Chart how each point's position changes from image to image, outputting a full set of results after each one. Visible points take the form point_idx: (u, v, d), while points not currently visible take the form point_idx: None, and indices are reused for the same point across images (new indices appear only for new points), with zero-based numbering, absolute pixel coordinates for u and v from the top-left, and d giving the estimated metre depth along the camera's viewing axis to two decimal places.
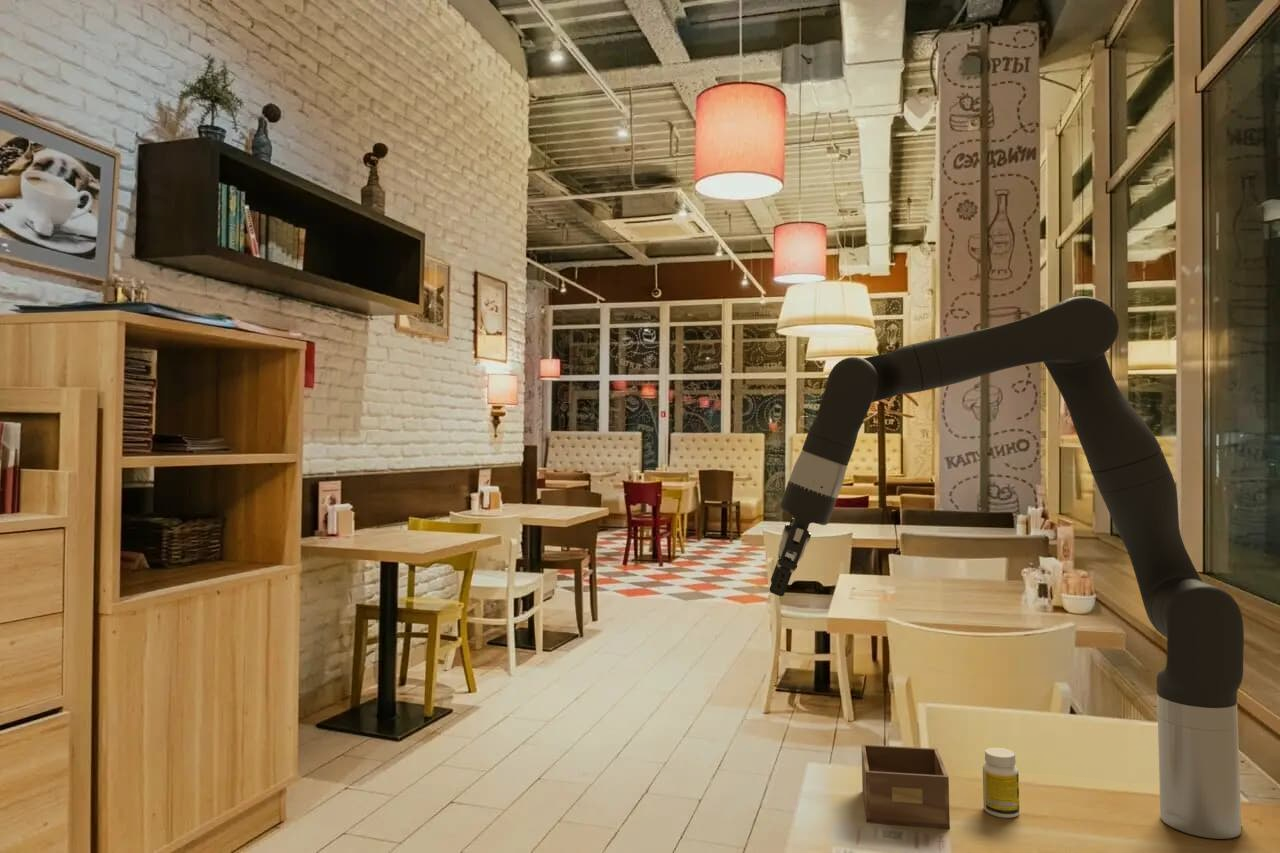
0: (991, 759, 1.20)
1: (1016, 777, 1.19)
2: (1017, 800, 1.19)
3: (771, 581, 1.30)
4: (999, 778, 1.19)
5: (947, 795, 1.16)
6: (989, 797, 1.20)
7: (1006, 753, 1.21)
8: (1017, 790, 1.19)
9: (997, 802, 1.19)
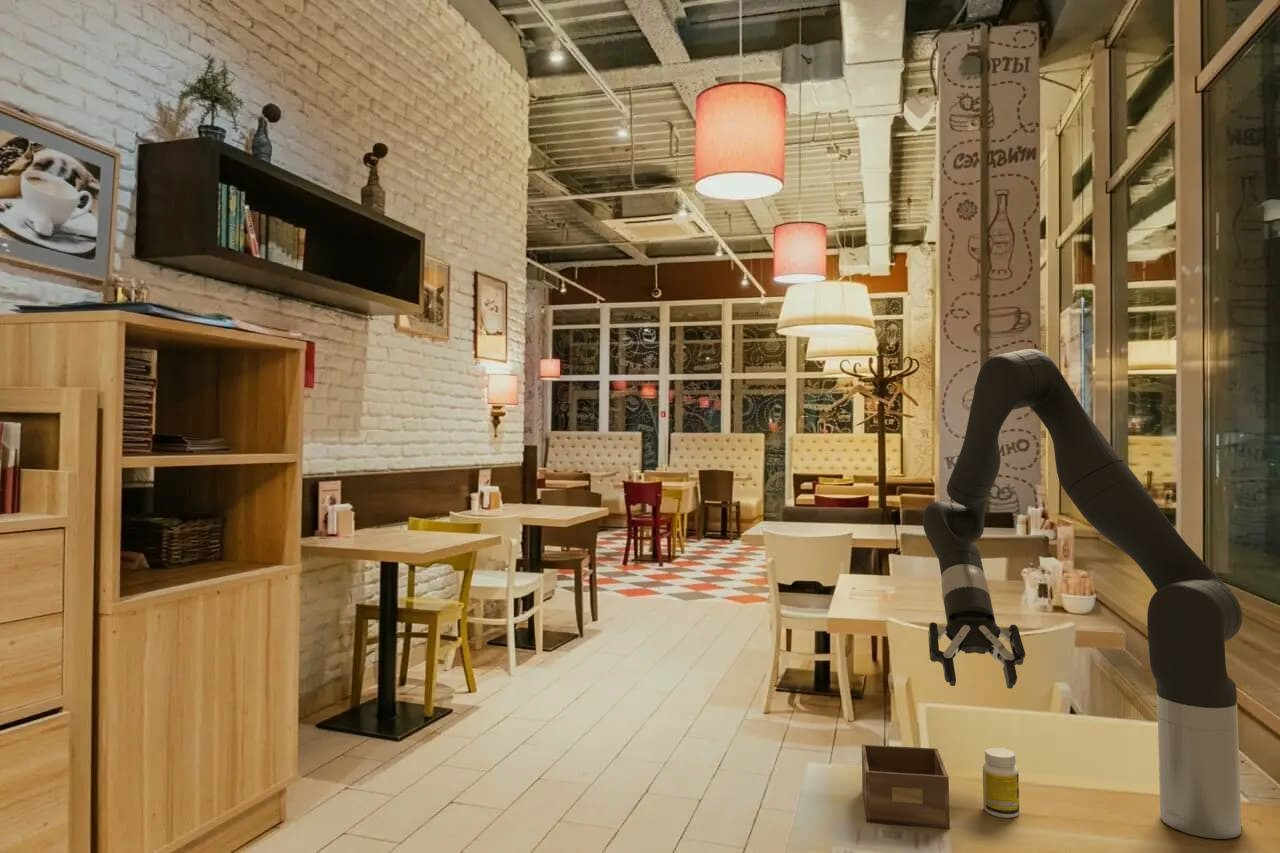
0: (991, 759, 1.20)
1: (1016, 777, 1.19)
2: (1017, 800, 1.19)
3: (1007, 687, 1.32)
4: (999, 778, 1.19)
5: (947, 795, 1.16)
6: (989, 797, 1.20)
7: (1005, 753, 1.21)
8: (1017, 790, 1.19)
9: (998, 802, 1.19)
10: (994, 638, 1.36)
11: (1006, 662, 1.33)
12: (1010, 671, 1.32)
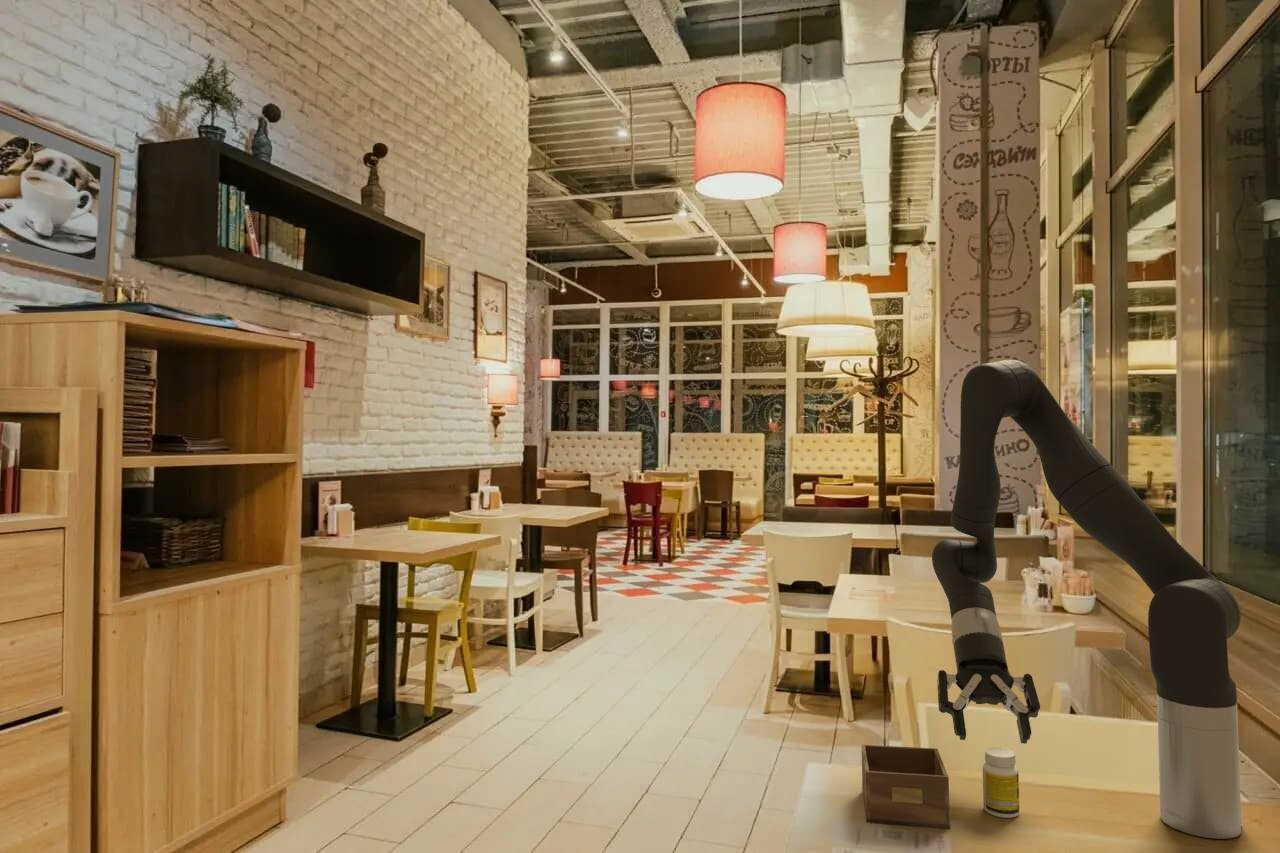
0: (991, 759, 1.20)
1: (1016, 777, 1.19)
2: (1017, 800, 1.19)
3: None
4: (999, 778, 1.19)
5: (947, 795, 1.16)
6: (989, 797, 1.20)
7: (1006, 753, 1.21)
8: (1017, 790, 1.19)
9: (997, 802, 1.19)
10: (1007, 689, 1.28)
11: (1020, 715, 1.26)
12: (1024, 725, 1.25)
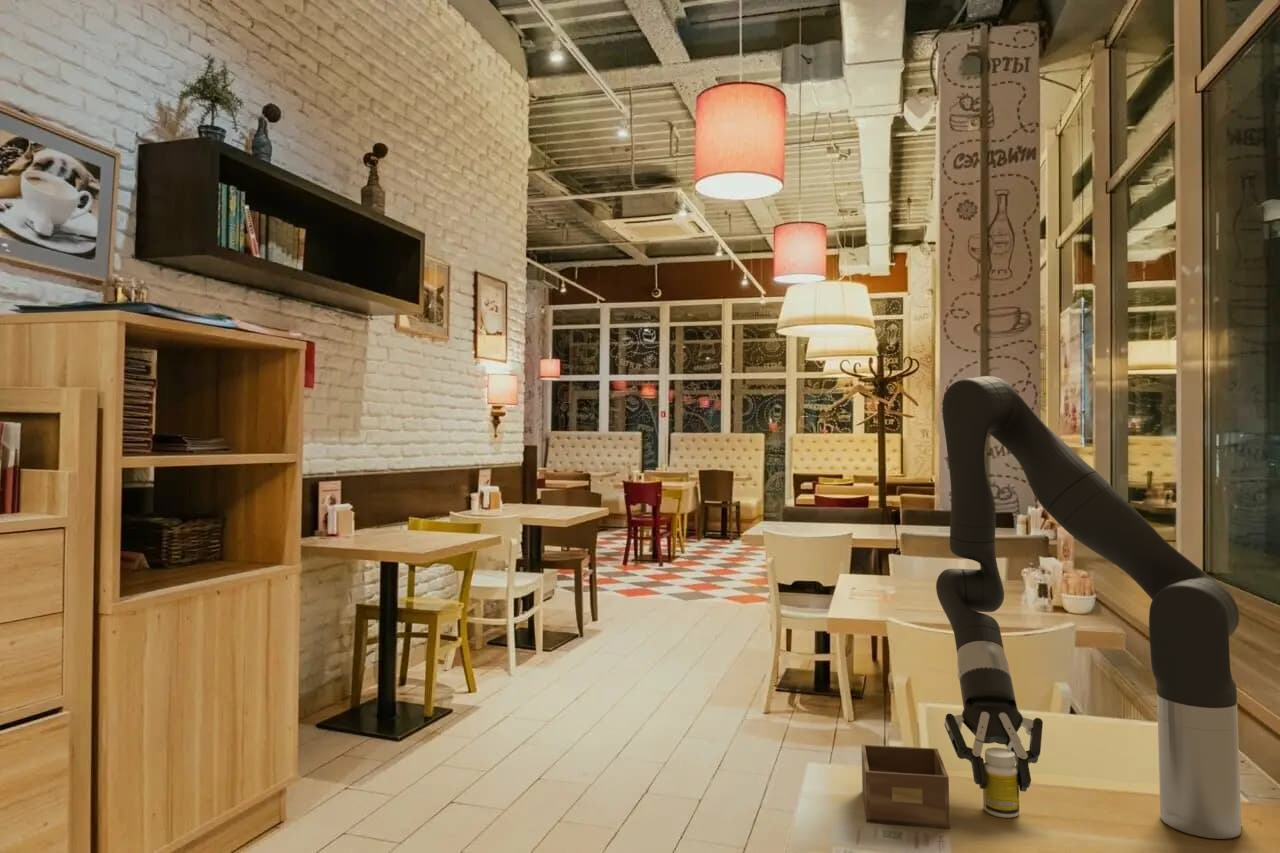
0: (991, 759, 1.20)
1: (1016, 777, 1.19)
2: (1017, 800, 1.19)
3: (1020, 790, 1.19)
4: (999, 778, 1.19)
5: (947, 795, 1.16)
6: (989, 797, 1.20)
7: (1005, 753, 1.21)
8: (1017, 790, 1.19)
9: (998, 802, 1.19)
10: (1012, 730, 1.23)
11: (1019, 761, 1.20)
12: (1023, 772, 1.19)
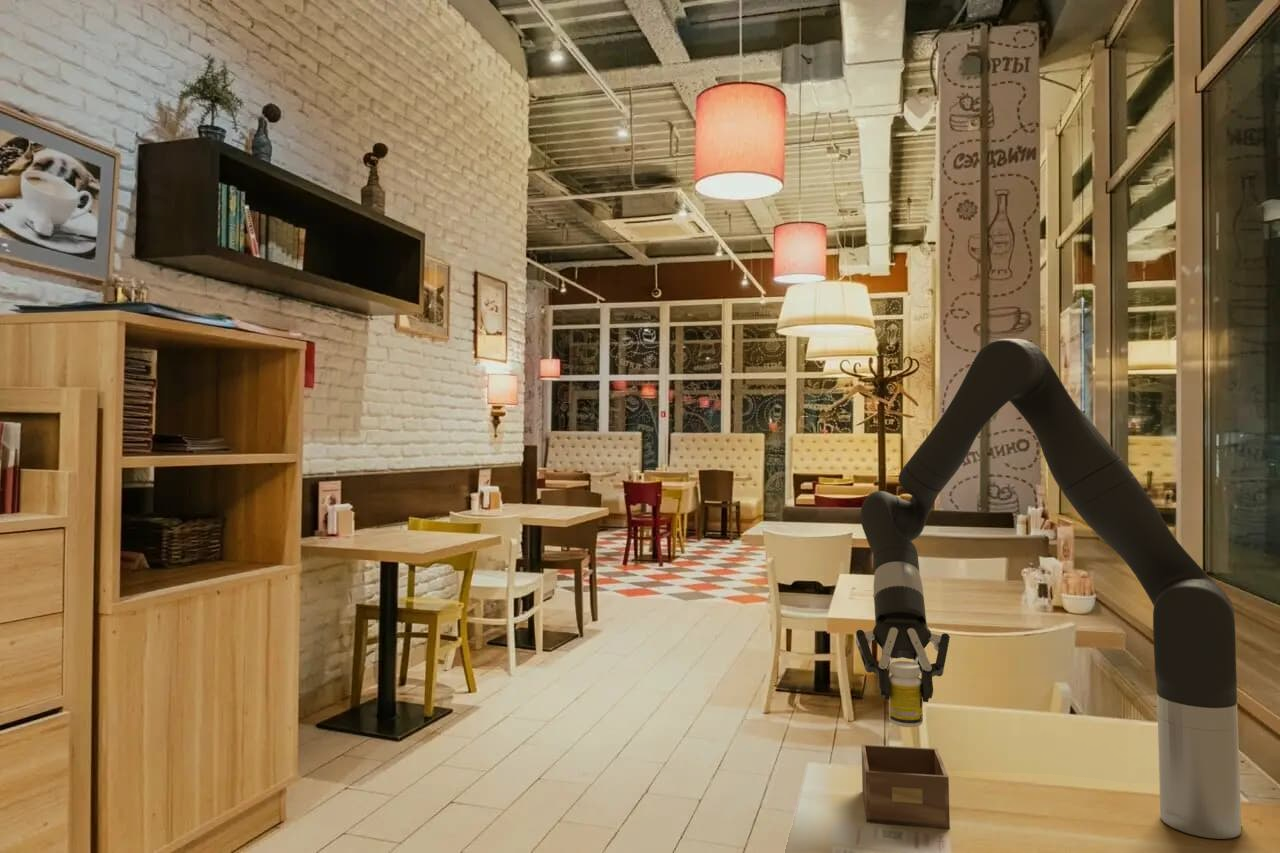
0: (895, 670, 1.22)
1: (919, 688, 1.21)
2: (920, 710, 1.21)
3: None
4: (902, 688, 1.21)
5: (947, 795, 1.16)
6: (893, 707, 1.22)
7: (910, 665, 1.23)
8: (920, 700, 1.21)
9: (900, 712, 1.21)
10: (919, 644, 1.25)
11: (923, 673, 1.22)
12: (926, 683, 1.21)
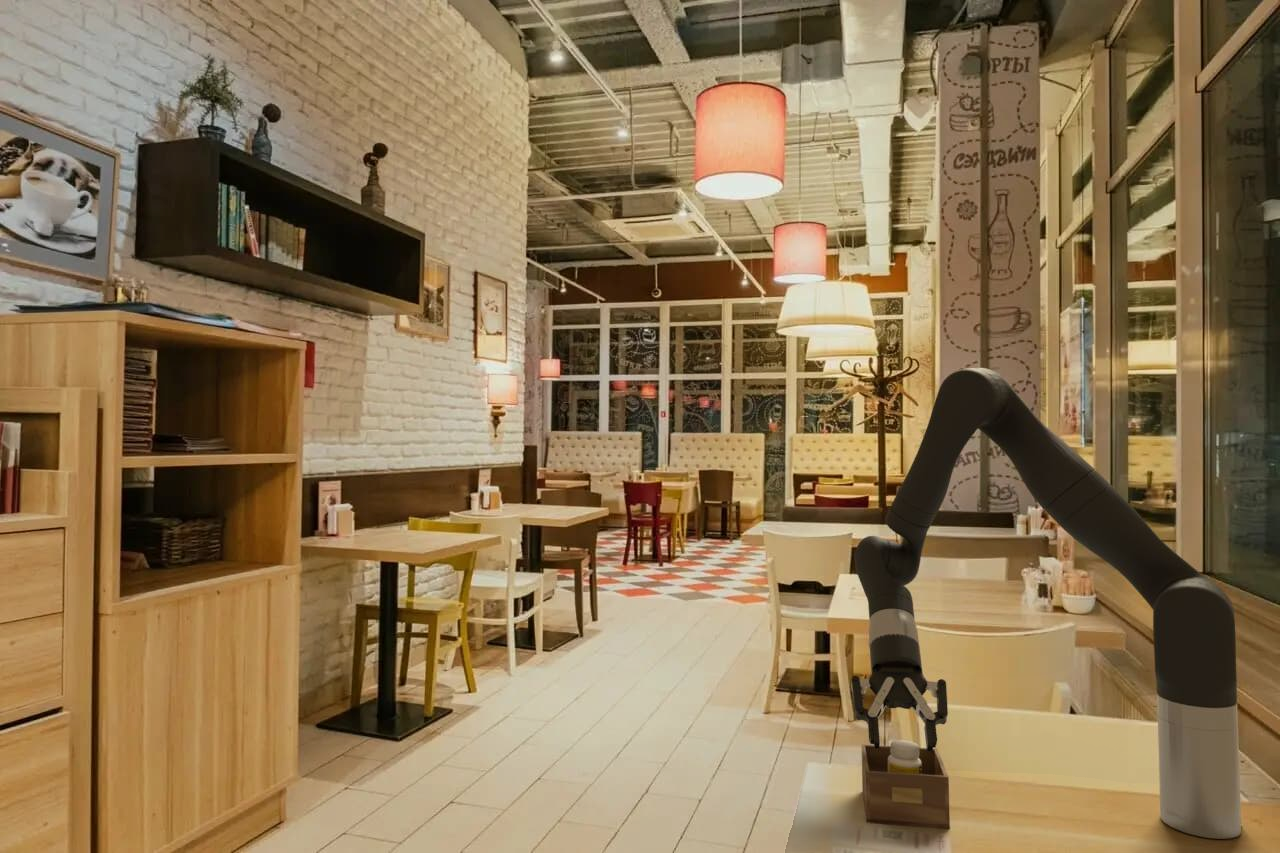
0: (895, 751, 1.22)
1: (918, 769, 1.21)
2: None
3: None
4: (901, 769, 1.21)
5: (947, 795, 1.16)
6: None
7: (910, 745, 1.22)
8: None
9: None
10: (918, 693, 1.24)
11: (926, 722, 1.22)
12: (930, 732, 1.21)
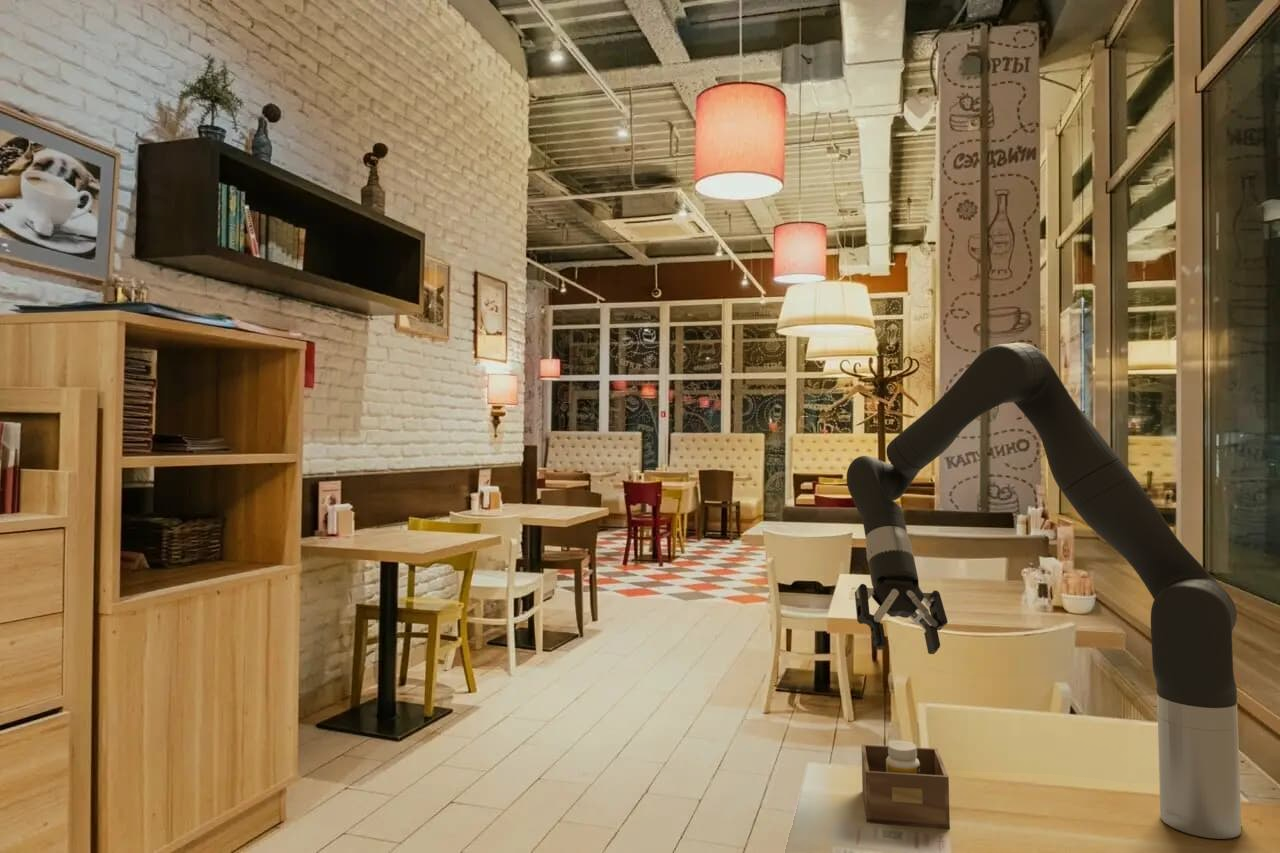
0: (892, 752, 1.22)
1: (916, 770, 1.21)
2: None
3: None
4: (899, 770, 1.20)
5: (947, 795, 1.16)
6: None
7: (907, 746, 1.22)
8: None
9: None
10: (920, 604, 1.37)
11: (930, 628, 1.35)
12: (934, 638, 1.34)
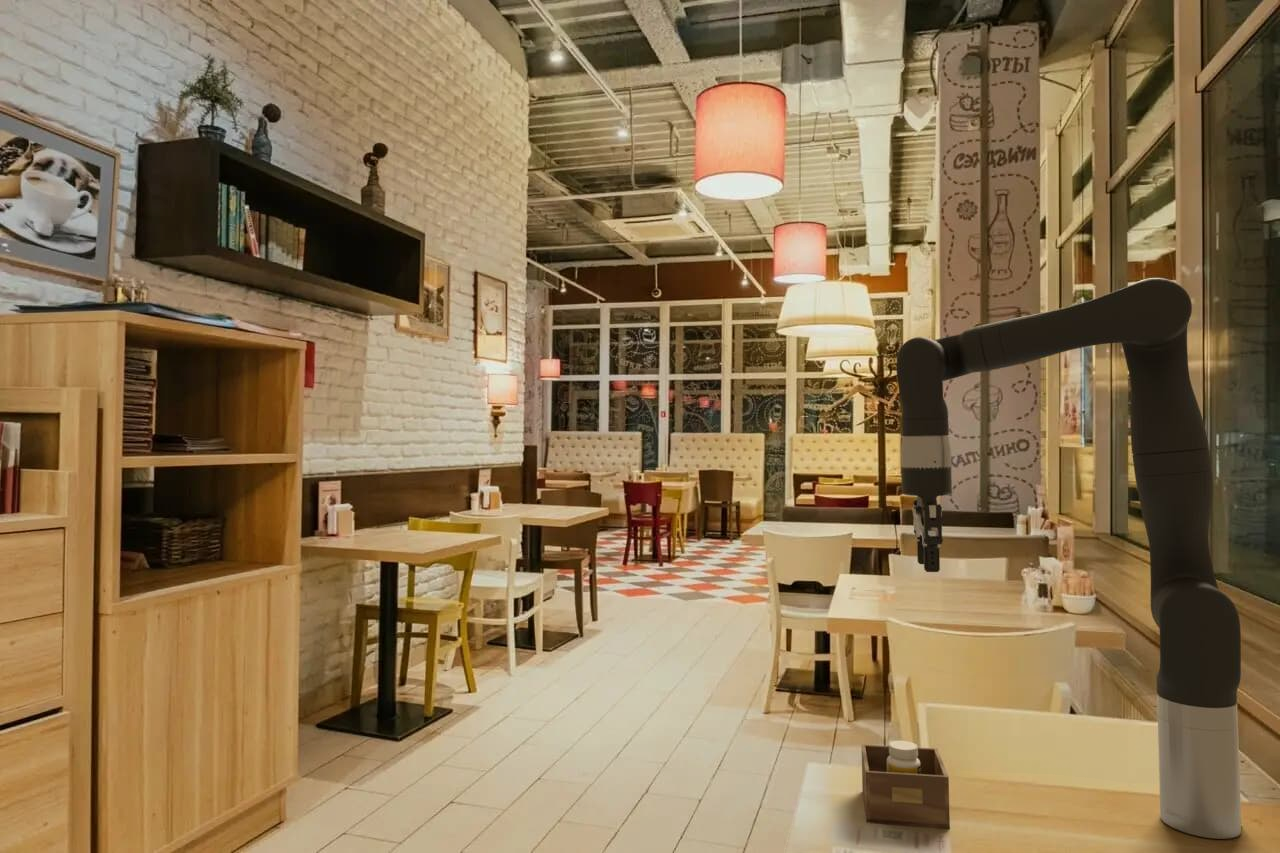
0: (893, 751, 1.22)
1: (917, 770, 1.21)
2: None
3: (919, 562, 1.37)
4: (899, 770, 1.21)
5: (947, 795, 1.16)
6: None
7: (908, 746, 1.22)
8: None
9: None
10: None
11: None
12: None
